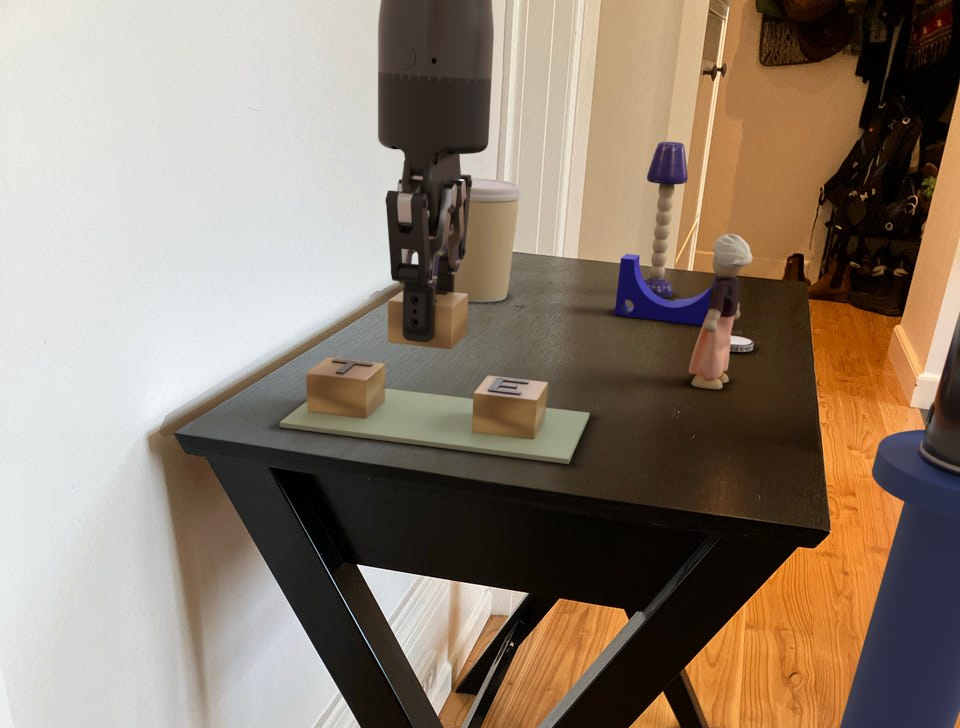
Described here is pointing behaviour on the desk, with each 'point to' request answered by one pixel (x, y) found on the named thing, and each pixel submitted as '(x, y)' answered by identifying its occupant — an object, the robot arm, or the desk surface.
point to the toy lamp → (664, 208)
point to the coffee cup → (488, 241)
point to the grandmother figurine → (720, 313)
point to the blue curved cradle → (655, 298)
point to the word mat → (446, 427)
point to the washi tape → (740, 344)
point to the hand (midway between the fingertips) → (428, 330)
